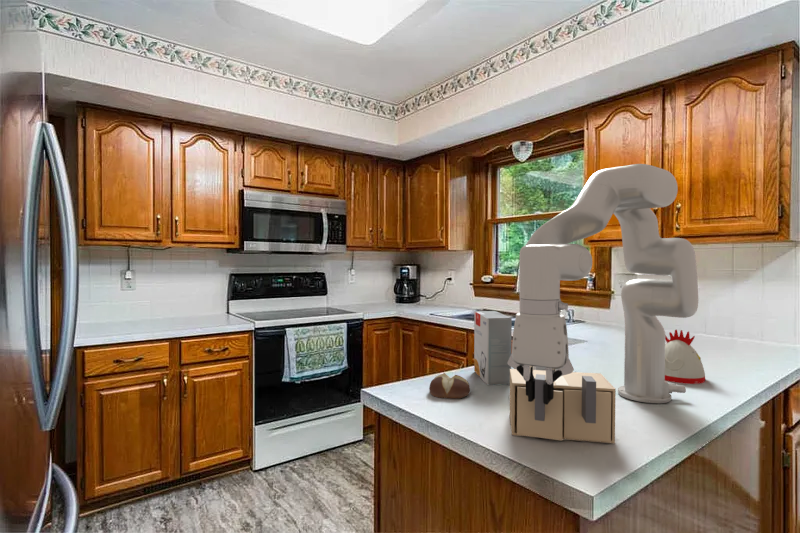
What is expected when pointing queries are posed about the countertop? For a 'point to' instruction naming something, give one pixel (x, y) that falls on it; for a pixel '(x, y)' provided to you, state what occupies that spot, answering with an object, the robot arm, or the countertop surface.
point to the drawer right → (587, 412)
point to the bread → (449, 387)
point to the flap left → (539, 413)
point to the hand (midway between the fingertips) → (539, 400)
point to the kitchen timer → (682, 360)
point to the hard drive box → (492, 346)
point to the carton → (563, 382)
